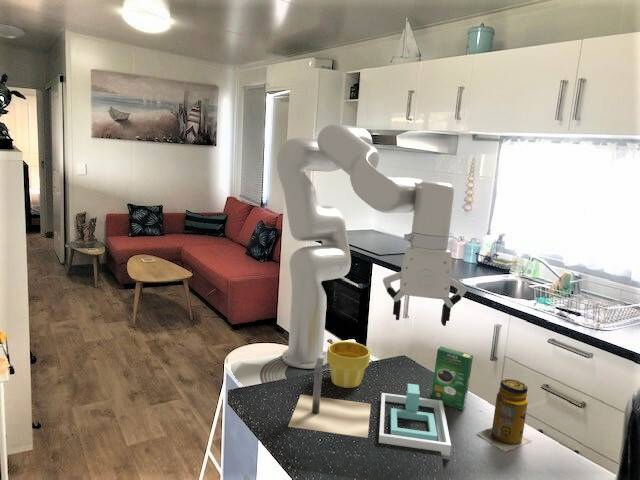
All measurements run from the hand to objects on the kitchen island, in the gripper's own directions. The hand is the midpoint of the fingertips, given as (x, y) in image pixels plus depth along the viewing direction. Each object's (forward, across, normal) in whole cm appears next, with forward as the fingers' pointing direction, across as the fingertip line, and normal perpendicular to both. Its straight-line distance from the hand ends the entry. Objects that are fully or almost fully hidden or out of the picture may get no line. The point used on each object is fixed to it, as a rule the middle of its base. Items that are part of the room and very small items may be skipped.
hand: (420, 321), depth 106 cm
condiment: (+22, +19, -3) cm, 30 cm away
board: (+22, -17, -6) cm, 28 cm away
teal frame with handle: (+22, 0, -4) cm, 22 cm away
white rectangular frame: (+22, 0, -5) cm, 23 cm away
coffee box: (+23, +9, +9) cm, 26 cm away
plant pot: (+23, -15, +11) cm, 30 cm away
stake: (+21, -20, -6) cm, 30 cm away
